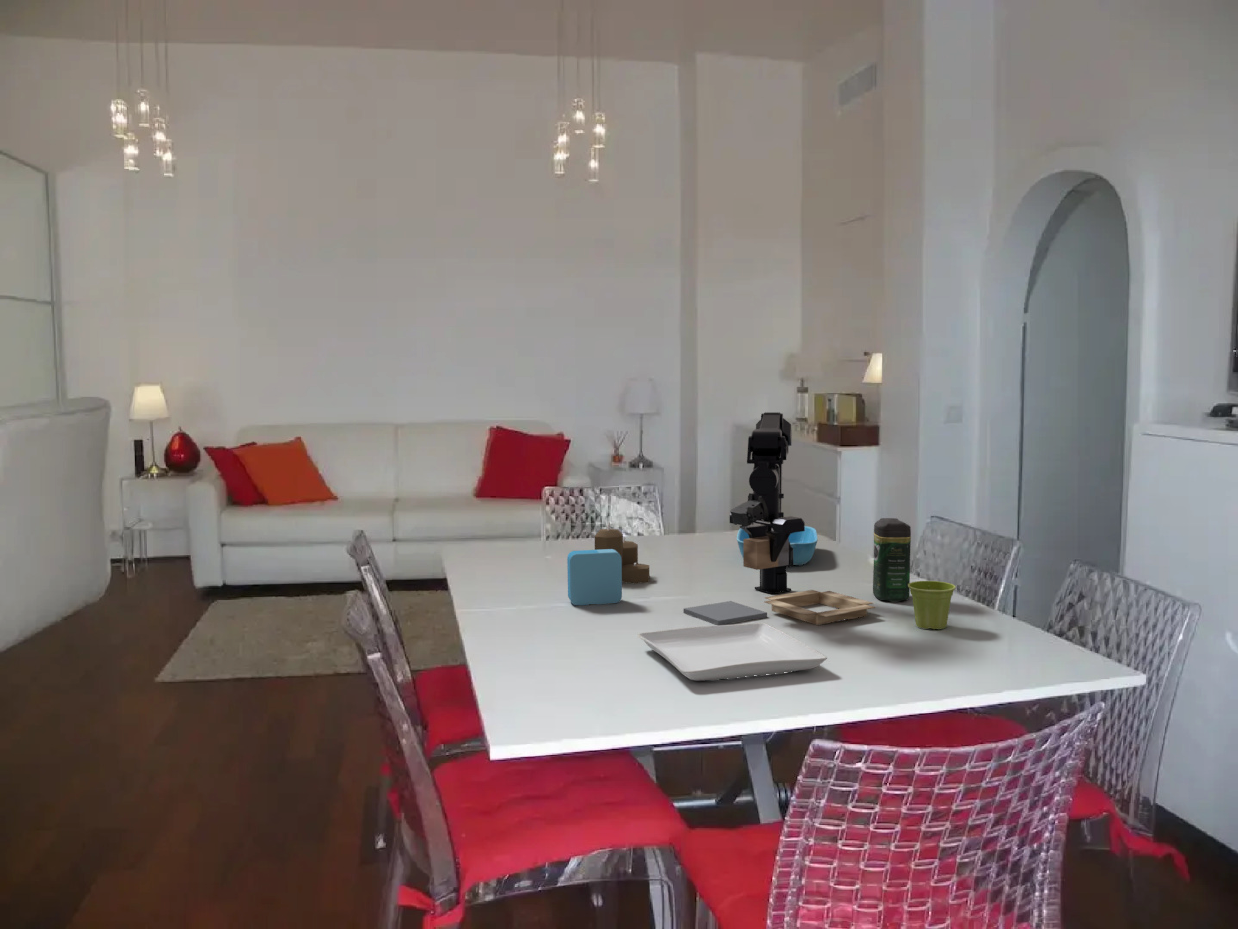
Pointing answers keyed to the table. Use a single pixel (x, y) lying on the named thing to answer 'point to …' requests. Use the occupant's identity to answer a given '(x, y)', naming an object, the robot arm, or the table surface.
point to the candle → (623, 554)
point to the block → (762, 553)
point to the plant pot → (931, 603)
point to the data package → (594, 576)
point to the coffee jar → (891, 560)
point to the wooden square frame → (846, 604)
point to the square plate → (732, 651)
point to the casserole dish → (793, 544)
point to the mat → (725, 613)
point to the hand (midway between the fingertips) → (766, 560)
